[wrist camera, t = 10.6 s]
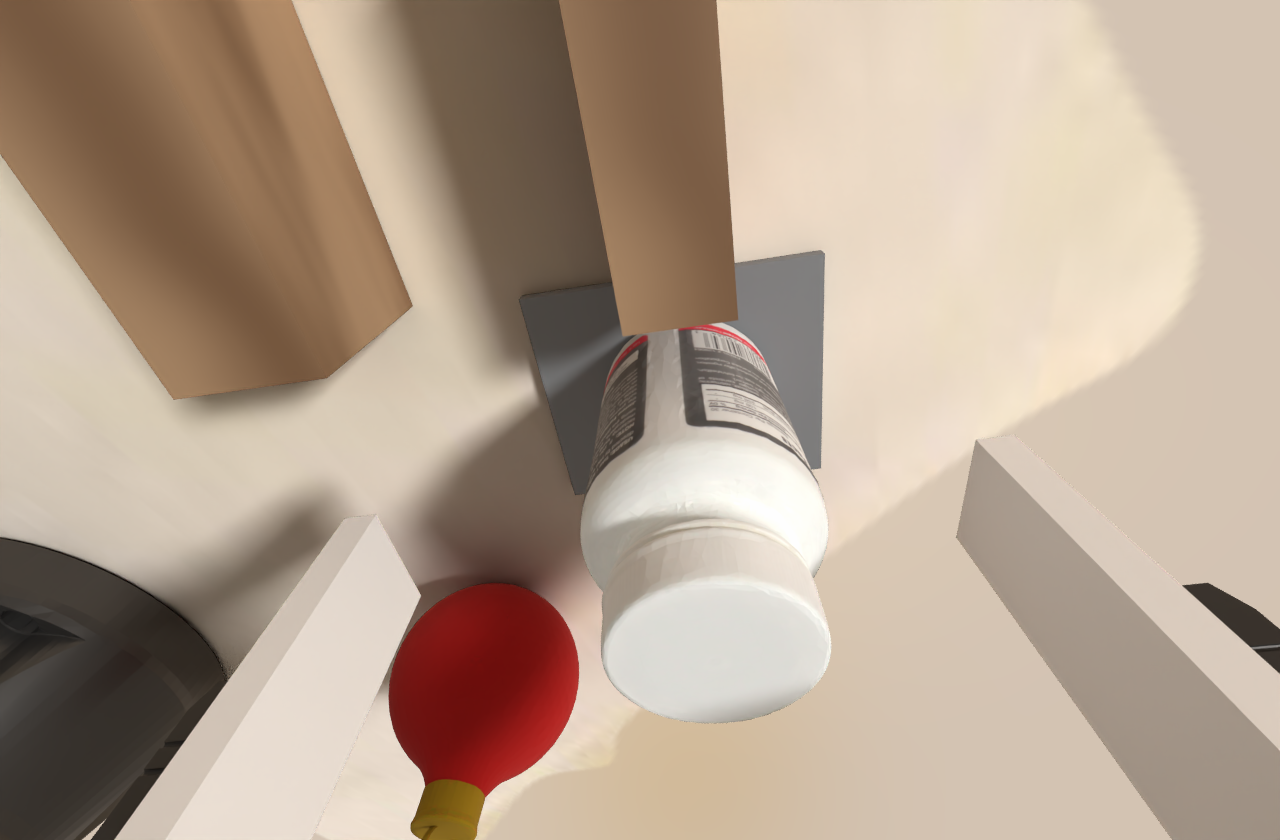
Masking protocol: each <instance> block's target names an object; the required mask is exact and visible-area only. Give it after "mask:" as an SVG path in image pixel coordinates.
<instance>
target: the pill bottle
mask: <svg viewBox="0 0 1280 840" xmlns="http://www.w3.org/2000/svg"><path fill="white" fill-rule="evenodd" d="M580 533H581V547H582V552H583V556H584V559H585V562H586V565H587V568H588V570H589V572H590V574H591V576H592V577H593V579H594V581H595V582H596V584H597V585H598V586H599V588H600V589H601V590H602V591H603V595H602V614H603V620H602V632H601V657H602V662H603V666H604V669H605V671H606V674H607V676H608V678H609V680H610V681H611V683H612V684H613V685H614V687H615V688H616V689H617V690H618V691H619V692H620V693H621V694H623V695H624V696H625V697H627V698H628V699H629V700H630V701H632V702H633V703H635V704H637V705H638V706H640V707H642V708H644V709H646V710H648V711H650V712H653V713H655V714H657V715H660V716H664V717H666V718H670V719H675V720H680V721H684V722H696V723H728V722H737V721H745V720H751V719H754V718H757V717H761V716H765V715H768V714H770V713H772V712H775V711H778V710H780V709H782V708H784V707H786V706H788V705H790V704H792V703H794V702H795V701H797V700H798V699H800V698H801V697H802V696H804V695H805V694H806V693H807V692H809V691H810V690H811V689H812V688H813V687H814V686H815V685H816V684H817V683H818V681H819V680H820V679H821V677H822V676H823V674H824V672H825V670H826V668H827V666H828V663H829V660H830V655H831V637H830V632H829V627H828V623H827V620H826V616H825V613H824V610H823V606H822V603H821V600H820V597H819V594H818V591H817V588H816V585H815V582H814V579H813V578H814V577H815V575H816V573H817V571H818V570H819V568H820V565H821V563H822V561H823V558H824V555H825V551H826V547H827V541H828V518H827V512H826V508H825V504H824V499H823V496H822V494H821V491H820V487H819V485H818V482H817V480H816V478H815V477H814V475H813V473H812V470H811V468H810V466H809V464H808V462H807V459H806V457H805V454H804V452H803V450H802V447H801V444H800V442H799V440H798V438H797V435H796V433H795V430H794V428H793V426H792V423H791V421H790V418H789V416H788V413H787V411H786V409H785V407H784V404H783V401H782V399H781V397H780V394H779V392H778V389H777V387H776V384H775V382H774V380H773V378H772V376H771V373H770V371H769V369H768V367H767V364H766V362H765V360H764V358H763V356H762V354H761V353H760V351H759V350H758V348H757V347H756V346H755V345H754V343H753V342H752V341H751V340H750V339H748V338H747V337H746V336H745V335H744V334H742V333H741V332H739V331H738V330H736V329H735V328H733V327H731V326H729V325H726V324H724V323H715V324H708V325H701V326H694V327H687V328H680V329H672V330H665V331H658V332H651V333H644V334H637V335H636V336H635V337H633V338H632V339H631V340H629V341H628V342H627V343H626V344H625V345H624V347H623V348H622V350H621V351H620V352H619V354H618V355H617V356H616V358H615V360H614V362H613V363H612V366H611V368H610V371H609V374H608V377H607V381H606V385H605V390H604V394H603V399H602V404H601V410H600V414H599V420H598V428H597V435H596V441H595V447H594V454H593V459H592V464H591V468H590V473H589V479H588V484H587V488H586V493H585V498H584V504H583V509H582V517H581V529H580Z"/></svg>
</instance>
